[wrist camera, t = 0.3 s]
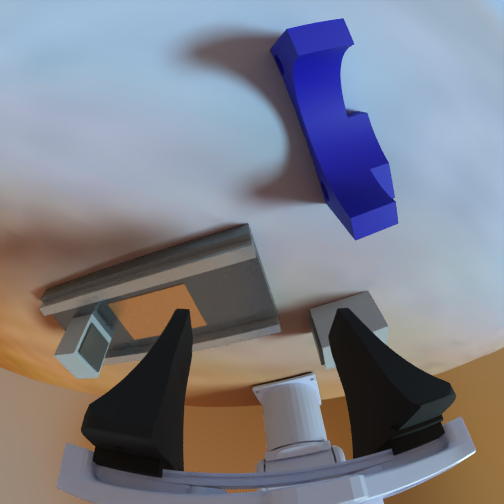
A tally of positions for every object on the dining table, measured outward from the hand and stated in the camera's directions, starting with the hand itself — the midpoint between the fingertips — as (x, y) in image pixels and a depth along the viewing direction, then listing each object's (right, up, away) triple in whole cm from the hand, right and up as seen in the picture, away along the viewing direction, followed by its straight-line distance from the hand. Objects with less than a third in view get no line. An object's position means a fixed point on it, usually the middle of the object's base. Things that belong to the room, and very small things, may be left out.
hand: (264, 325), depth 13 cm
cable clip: (+5, +13, +4) cm, 14 cm away
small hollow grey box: (-17, -4, +11) cm, 20 cm away
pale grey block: (+8, -2, +13) cm, 16 cm away
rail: (-10, -1, +11) cm, 15 cm away
